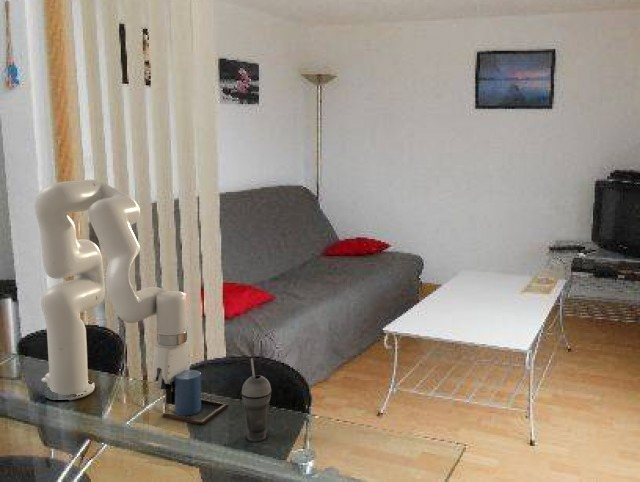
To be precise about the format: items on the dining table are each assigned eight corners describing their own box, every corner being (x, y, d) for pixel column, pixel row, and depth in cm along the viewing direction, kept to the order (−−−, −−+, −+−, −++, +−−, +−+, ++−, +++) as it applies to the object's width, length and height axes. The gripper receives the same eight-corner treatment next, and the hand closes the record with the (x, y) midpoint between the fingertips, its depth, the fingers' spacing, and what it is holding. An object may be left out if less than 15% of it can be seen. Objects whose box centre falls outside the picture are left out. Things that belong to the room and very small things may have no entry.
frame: (162, 417, 158) (162, 414, 157) (191, 399, 169) (191, 396, 169) (201, 425, 154) (201, 422, 154) (228, 406, 165) (228, 403, 165)
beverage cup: (264, 445, 145) (264, 365, 142) (236, 442, 146) (235, 362, 143) (276, 431, 152) (276, 355, 149) (249, 428, 153) (248, 352, 150)
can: (169, 413, 160) (168, 377, 159) (185, 402, 166) (185, 368, 165) (190, 417, 158) (190, 381, 157) (206, 407, 164) (205, 371, 163)
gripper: (178, 327, 169) (179, 390, 172) (140, 344, 155) (141, 412, 157) (201, 331, 167) (201, 394, 169) (164, 348, 153) (165, 417, 155)
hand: (172, 403), depth 163 cm, fingers closed
